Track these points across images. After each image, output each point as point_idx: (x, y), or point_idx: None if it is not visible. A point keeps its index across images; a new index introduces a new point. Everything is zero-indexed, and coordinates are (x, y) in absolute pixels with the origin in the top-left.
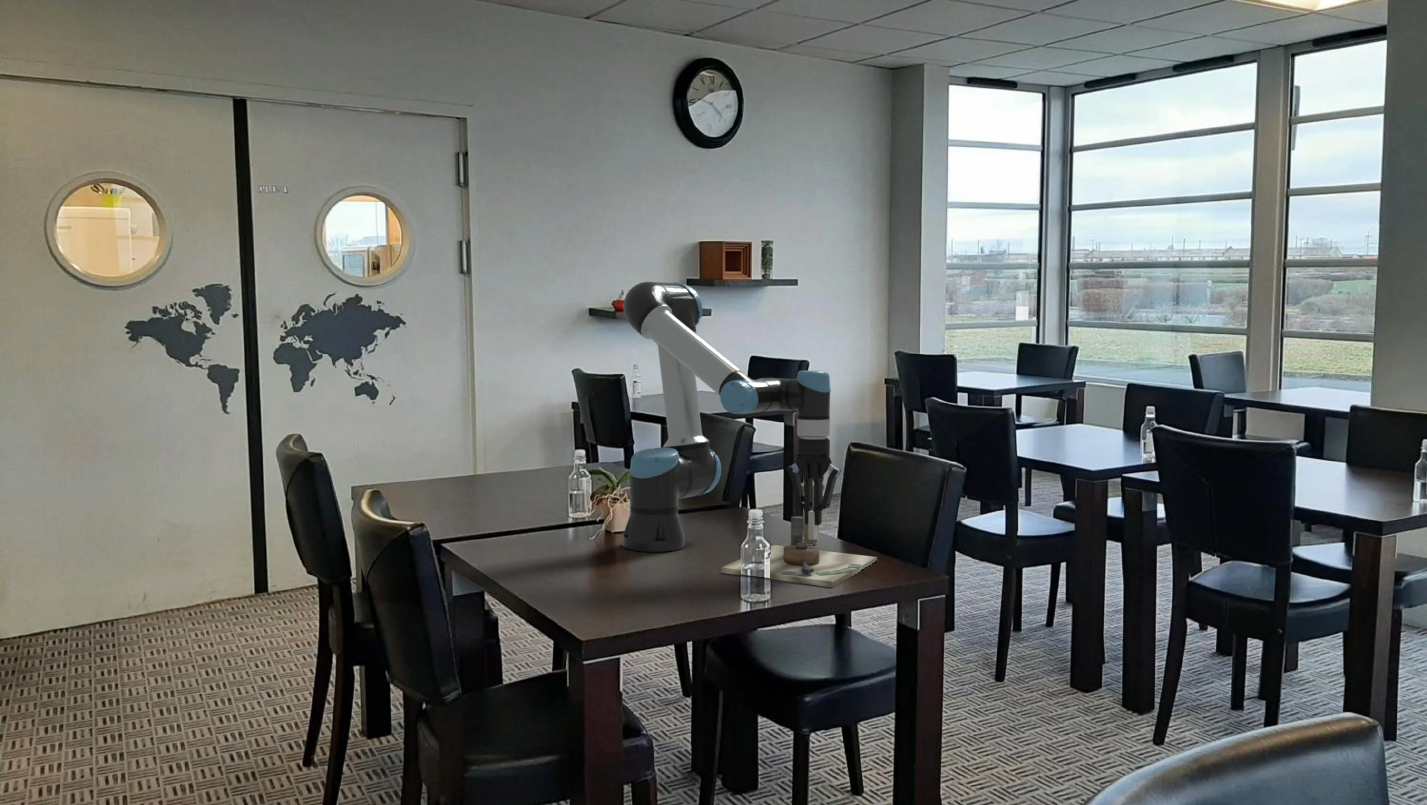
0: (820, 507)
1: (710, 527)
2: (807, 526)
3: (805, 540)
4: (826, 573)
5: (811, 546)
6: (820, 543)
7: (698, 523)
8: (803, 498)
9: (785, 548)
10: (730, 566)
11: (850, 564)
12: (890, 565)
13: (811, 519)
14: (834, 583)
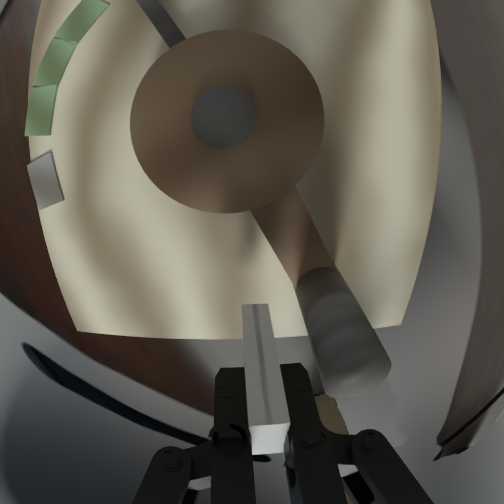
0: (205, 461)
1: (482, 378)
2: (333, 429)
3: (330, 400)
4: (73, 17)
5: (200, 196)
6: None
7: (489, 382)
8: (354, 493)
9: (302, 76)
10: None
11: (56, 188)
12: (47, 305)
13: (261, 381)
14: None
